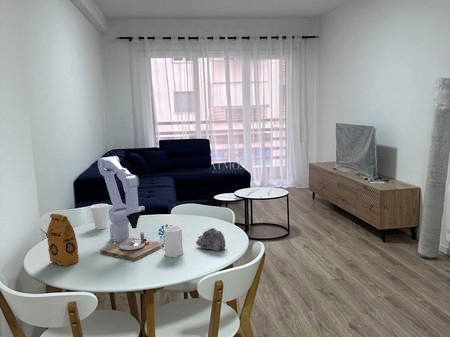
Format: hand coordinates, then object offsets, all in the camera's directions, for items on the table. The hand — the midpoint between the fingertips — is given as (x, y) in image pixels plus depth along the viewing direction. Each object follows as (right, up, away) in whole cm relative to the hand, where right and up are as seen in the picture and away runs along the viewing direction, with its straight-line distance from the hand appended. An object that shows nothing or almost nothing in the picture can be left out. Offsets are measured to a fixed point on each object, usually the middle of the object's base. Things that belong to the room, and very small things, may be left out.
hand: (134, 227), depth 191 cm
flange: (+1, -8, -3) cm, 9 cm away
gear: (+16, -8, +9) cm, 20 cm away
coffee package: (-27, -13, -15) cm, 34 cm away
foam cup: (-27, -5, +35) cm, 45 cm away
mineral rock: (+38, -9, -4) cm, 39 cm away
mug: (+20, -11, -11) cm, 25 cm away
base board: (0, -10, -3) cm, 10 cm away
